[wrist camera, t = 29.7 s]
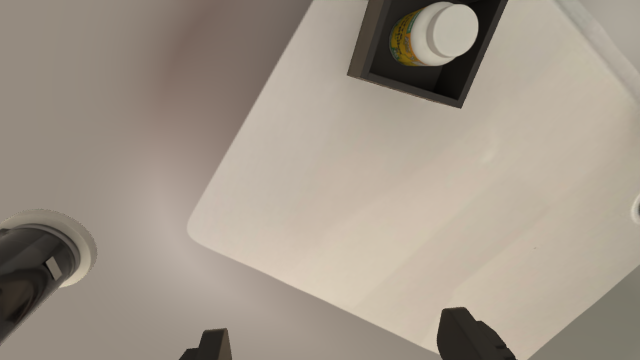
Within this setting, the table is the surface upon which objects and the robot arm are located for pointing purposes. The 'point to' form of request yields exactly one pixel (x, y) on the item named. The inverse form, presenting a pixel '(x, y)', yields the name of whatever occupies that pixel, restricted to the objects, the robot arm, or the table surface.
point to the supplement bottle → (433, 34)
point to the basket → (420, 81)
